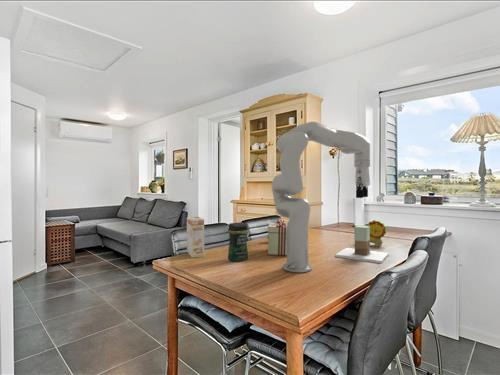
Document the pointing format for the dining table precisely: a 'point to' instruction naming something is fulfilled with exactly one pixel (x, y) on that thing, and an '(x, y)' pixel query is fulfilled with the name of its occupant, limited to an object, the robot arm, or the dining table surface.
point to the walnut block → (362, 247)
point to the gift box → (277, 238)
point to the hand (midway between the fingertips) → (362, 197)
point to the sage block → (362, 233)
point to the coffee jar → (238, 241)
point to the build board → (371, 257)
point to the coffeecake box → (195, 236)
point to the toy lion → (376, 232)
